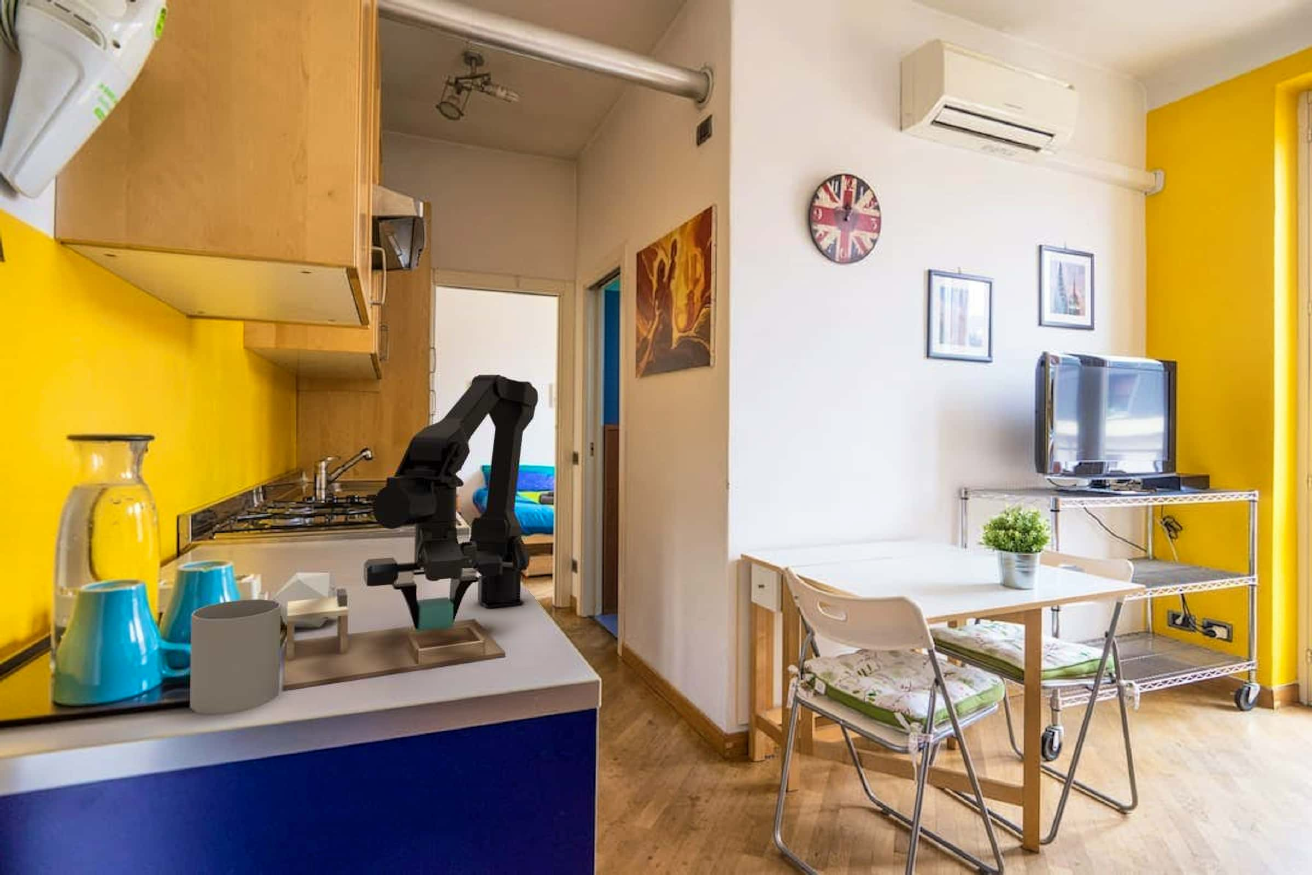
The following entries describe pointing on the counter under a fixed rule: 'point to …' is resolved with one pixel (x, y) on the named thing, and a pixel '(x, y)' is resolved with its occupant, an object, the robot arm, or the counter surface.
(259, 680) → the cup
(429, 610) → the block
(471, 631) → the board
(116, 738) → the counter surface
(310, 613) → the bridge
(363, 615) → the counter surface
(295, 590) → the die
